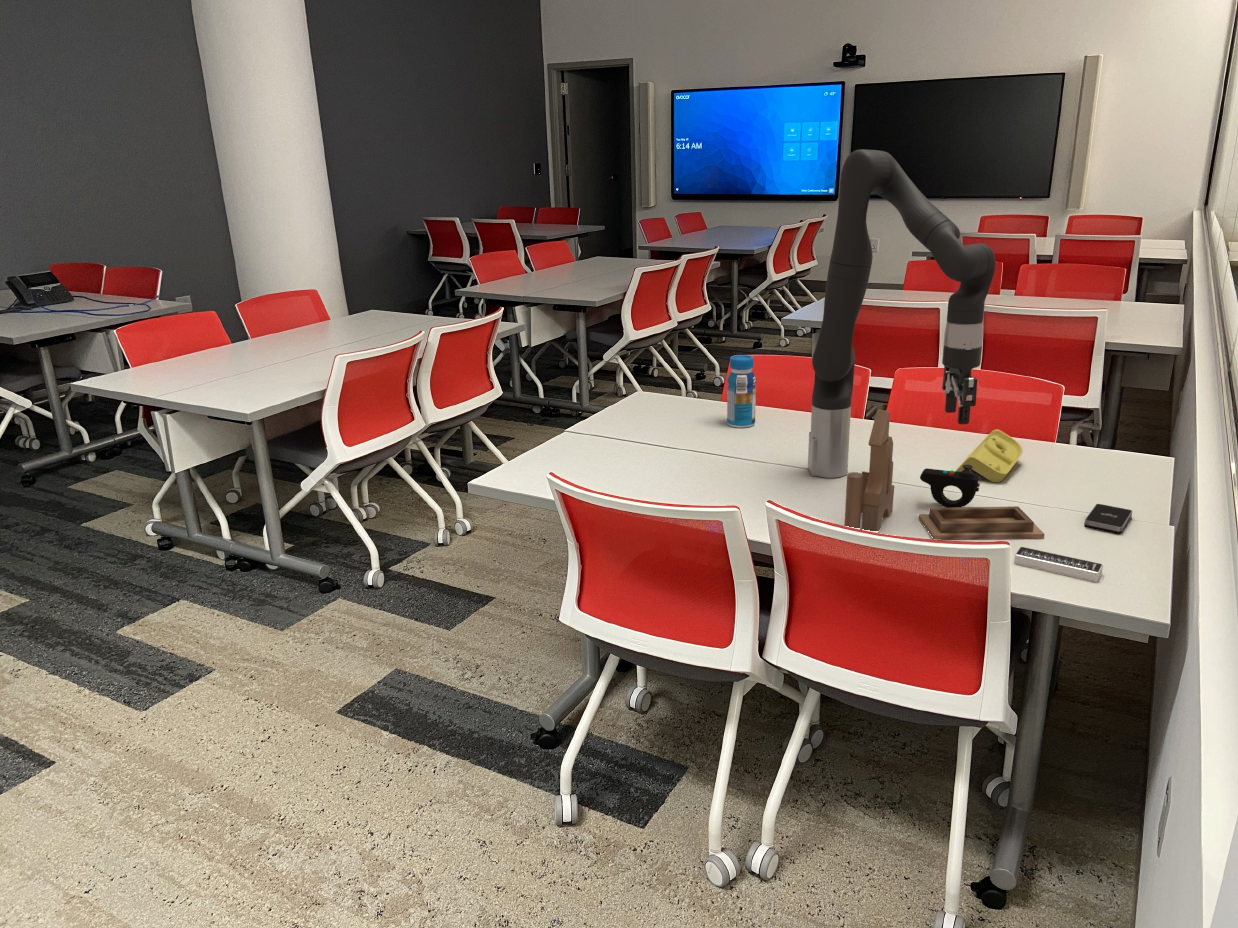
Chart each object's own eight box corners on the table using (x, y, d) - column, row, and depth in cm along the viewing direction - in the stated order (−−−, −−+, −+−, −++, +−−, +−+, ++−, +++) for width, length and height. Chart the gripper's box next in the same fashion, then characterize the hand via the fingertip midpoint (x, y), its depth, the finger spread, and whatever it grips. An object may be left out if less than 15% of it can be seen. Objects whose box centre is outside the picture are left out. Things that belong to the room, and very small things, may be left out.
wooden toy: (862, 507, 197) (868, 399, 188) (892, 512, 194) (900, 402, 185) (842, 533, 184) (848, 418, 176) (874, 538, 181) (882, 422, 172)
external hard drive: (1131, 519, 186) (1133, 510, 186) (1120, 537, 178) (1121, 528, 178) (1095, 511, 190) (1096, 503, 190) (1082, 529, 182) (1084, 520, 182)
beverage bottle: (720, 424, 258) (720, 357, 251) (739, 418, 263) (739, 352, 256) (743, 430, 252) (743, 362, 245) (761, 423, 257) (762, 356, 251)
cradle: (933, 540, 179) (934, 526, 178) (918, 518, 190) (919, 505, 189) (1043, 538, 178) (1045, 524, 177) (1023, 516, 188) (1024, 503, 187)
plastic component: (1004, 476, 205) (966, 452, 208) (988, 499, 209) (950, 475, 213) (1027, 447, 219) (991, 425, 222) (1011, 469, 223) (976, 447, 227)
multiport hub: (1019, 556, 172) (1020, 545, 171) (1101, 574, 163) (1103, 563, 163) (1013, 565, 169) (1014, 554, 168) (1097, 584, 160) (1099, 573, 159)
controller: (975, 514, 191) (980, 470, 187) (916, 505, 196) (919, 463, 193) (977, 506, 194) (982, 464, 191) (919, 498, 200) (923, 457, 196)
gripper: (934, 337, 190) (928, 409, 195) (955, 351, 177) (949, 428, 182) (969, 335, 190) (963, 408, 195) (993, 349, 176) (986, 427, 182)
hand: (956, 418), depth 189 cm, fingers open, 8 cm apart
